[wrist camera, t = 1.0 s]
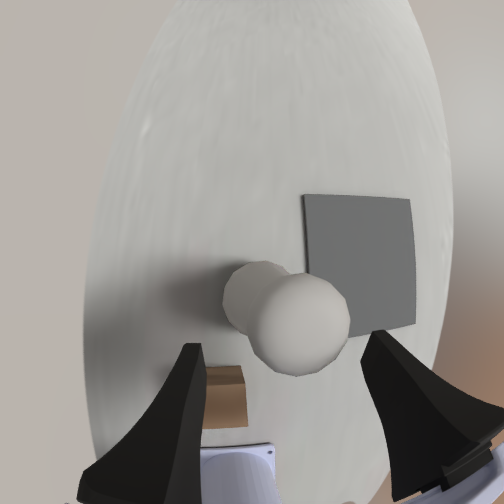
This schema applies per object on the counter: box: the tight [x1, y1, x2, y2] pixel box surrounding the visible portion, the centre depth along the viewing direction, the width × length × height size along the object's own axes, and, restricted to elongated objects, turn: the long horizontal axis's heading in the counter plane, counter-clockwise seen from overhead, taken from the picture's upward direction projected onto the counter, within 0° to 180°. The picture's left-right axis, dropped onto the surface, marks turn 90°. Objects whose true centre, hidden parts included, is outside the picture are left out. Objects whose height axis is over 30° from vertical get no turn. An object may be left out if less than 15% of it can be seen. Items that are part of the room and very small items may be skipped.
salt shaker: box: [222, 261, 350, 377], centre depth 16 cm, size 6×6×13 cm
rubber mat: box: [303, 194, 416, 338], centre depth 24 cm, size 13×12×1 cm
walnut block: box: [202, 366, 248, 429], centre depth 20 cm, size 4×4×4 cm
